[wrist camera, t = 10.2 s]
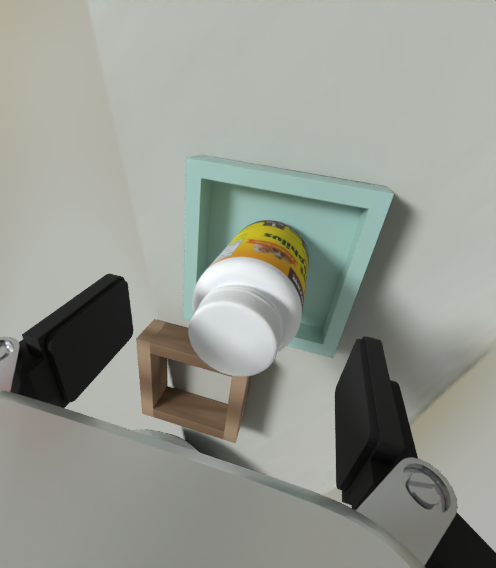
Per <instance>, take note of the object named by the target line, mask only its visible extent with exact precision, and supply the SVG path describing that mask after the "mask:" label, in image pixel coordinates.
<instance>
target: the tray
mask: <svg viewBox="0 0 496 568" xmlns="http://www.w3.org/2000/svg"><path fill="white" fill-rule="evenodd" d="M393 196H394V193H393V192H392V191H390V190H389V189H388V188H387V187H386V186H381V185H375V184H369V183H363V182H357V181H352V180H346V179H340V178H334V177H328V176H322V175H316V174H311V173H305V172H299V171H293V170H287V169H281V168H275V167H270V166H264V165H258V164H252V163H246V162H240V161H234V160H229V159H223V158H217V157H211V156H205V155H198V156H193V157H187V158H186V187H185V234H184V282H183V319H185V320H189V321H190V320H191V318H192V316H193V315H194V312H193V293H194V289H195V286H196V284H197V282H198V280H199V278H200V277H201V276H202V274H203V273H204V272H205V271H206V270H207V268H208V267H209V266H210V265H211V264H212V263H213V262H214V261H215V259H216V258H217V257H218V256H219V255H220V254H221V253H222V251H223V250H224V249H225V248H226V247H227V246H228V245H229V244H230V243H231V241H232V240H233V239H234V238H235V237H236V236H237V235H238V233H239V232H240V231H241V230H242V229H244V228H245V227H246V226H248V225H249V224H251V223H254V222H256V221H260V220H277V221H281V222H283V223H286V224H288V225H290V226H291V227H293V228H294V229H295V230H296V231H297V232H298V233H299V234H300V235H301V236H302V238H303V239H304V241H305V243H306V245H307V248H308V253H309V267H308V273H307V281H306V289H305V296H304V304H303V312H302V318H301V323H300V327H299V329H298V332H297V334H296V335H295V337H294V338H293V340H292V341H291V342H290V343H289V344H288V345H287V346H289V347H293V348H296V349H300V350H304V351H308V352H312V353H315V354H319V355H323V356H327V357H331V358H333V357H334V354H335V352H336V349H337V346H338V344H339V341H340V338H341V336H342V333H343V330H344V328H345V325H346V322H347V319H348V317H349V314H350V311H351V309H352V306H353V303H354V301H355V298H356V295H357V293H358V290H359V287H360V284H361V282H362V279H363V276H364V274H365V271H366V268H367V266H368V263H369V260H370V258H371V255H372V252H373V249H374V247H375V244H376V241H377V239H378V236H379V233H380V231H381V228H382V225H383V223H384V220H385V217H386V215H387V212H388V209H389V206H390V204H391V201H392V198H393Z"/></svg>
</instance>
